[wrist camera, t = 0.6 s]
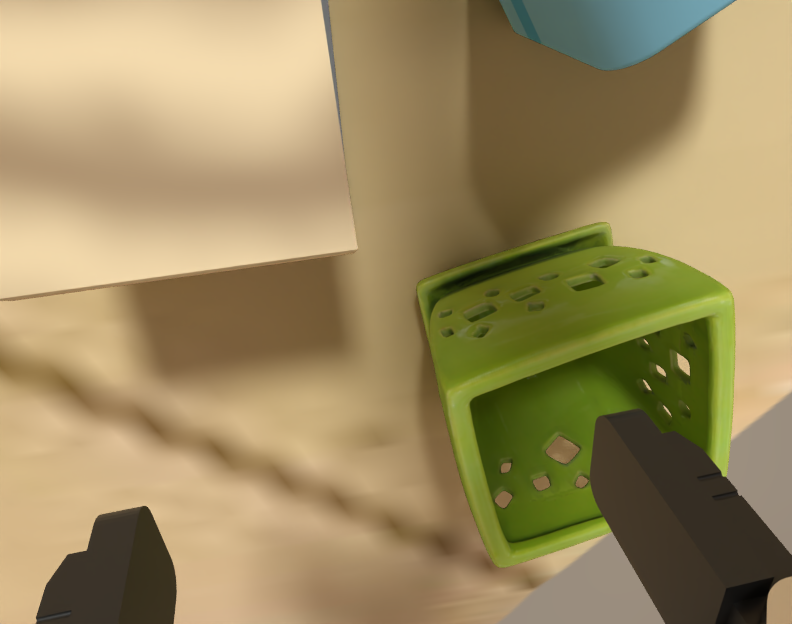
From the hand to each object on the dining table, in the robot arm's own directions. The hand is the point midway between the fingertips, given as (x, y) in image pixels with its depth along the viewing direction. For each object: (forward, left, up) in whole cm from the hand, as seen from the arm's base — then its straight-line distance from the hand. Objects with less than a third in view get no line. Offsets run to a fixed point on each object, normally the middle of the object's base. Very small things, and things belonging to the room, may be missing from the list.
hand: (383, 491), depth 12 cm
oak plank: (-8, -5, -19) cm, 21 cm away
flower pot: (+14, +12, -26) cm, 32 cm away
